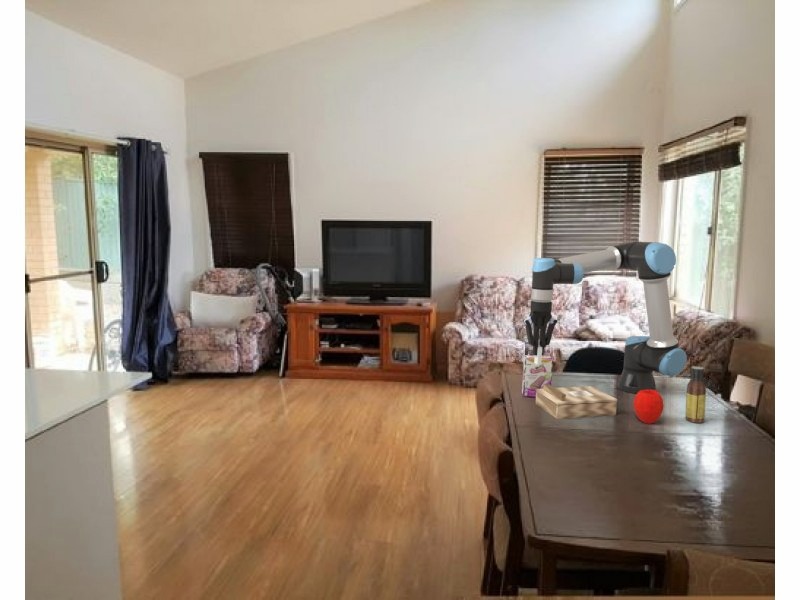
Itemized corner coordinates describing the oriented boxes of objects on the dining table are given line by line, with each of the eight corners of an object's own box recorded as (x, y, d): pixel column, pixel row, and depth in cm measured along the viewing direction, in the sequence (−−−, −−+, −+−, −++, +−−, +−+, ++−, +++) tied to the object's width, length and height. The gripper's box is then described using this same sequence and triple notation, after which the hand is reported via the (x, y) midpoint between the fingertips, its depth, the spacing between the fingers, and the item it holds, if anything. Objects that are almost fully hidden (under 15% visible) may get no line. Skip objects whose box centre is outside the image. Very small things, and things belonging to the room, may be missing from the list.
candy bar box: (522, 397, 232) (524, 357, 230) (521, 393, 237) (523, 354, 235) (551, 398, 231) (553, 359, 229) (549, 395, 236) (551, 356, 234)
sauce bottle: (702, 419, 211) (707, 366, 208) (705, 424, 205) (710, 370, 202) (682, 416, 213) (687, 364, 210) (685, 422, 207) (690, 368, 204)
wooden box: (590, 400, 230) (591, 388, 229) (615, 415, 213) (616, 402, 212) (535, 404, 224) (536, 391, 223) (557, 418, 208) (557, 405, 207)
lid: (591, 388, 229) (592, 380, 228) (616, 401, 212) (617, 392, 212) (536, 390, 223) (536, 382, 223) (557, 404, 207) (558, 396, 206)
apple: (639, 415, 213) (641, 383, 212) (666, 422, 207) (669, 389, 205) (627, 421, 207) (630, 388, 205) (655, 428, 200) (658, 395, 198)
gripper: (552, 299, 214) (548, 360, 217) (520, 299, 211) (516, 361, 214) (562, 301, 207) (558, 365, 210) (529, 302, 204) (525, 367, 207)
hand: (537, 363), depth 212 cm, fingers closed
